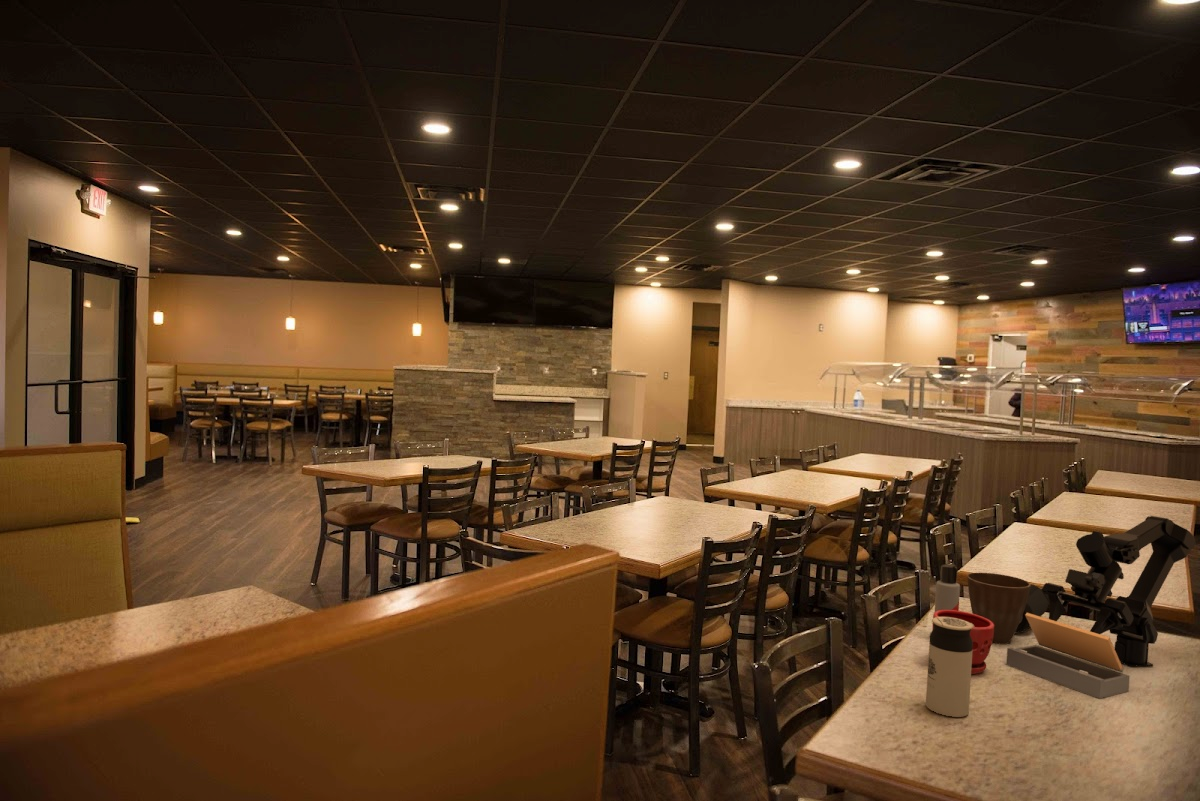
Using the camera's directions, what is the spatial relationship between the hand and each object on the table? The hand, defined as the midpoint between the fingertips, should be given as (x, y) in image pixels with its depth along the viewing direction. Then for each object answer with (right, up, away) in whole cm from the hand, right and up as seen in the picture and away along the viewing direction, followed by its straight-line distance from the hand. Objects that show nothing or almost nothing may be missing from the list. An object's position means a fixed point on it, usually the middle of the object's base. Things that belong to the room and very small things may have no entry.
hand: (1069, 631), depth 180 cm
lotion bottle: (-19, -10, +23) cm, 31 cm away
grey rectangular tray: (-1, -11, 0) cm, 11 cm away
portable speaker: (+11, -11, +42) cm, 44 cm away
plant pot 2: (-4, -10, +26) cm, 28 cm away
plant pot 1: (-24, -10, +3) cm, 26 cm away
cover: (+1, -3, +1) cm, 3 cm away
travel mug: (-38, -10, -22) cm, 45 cm away
